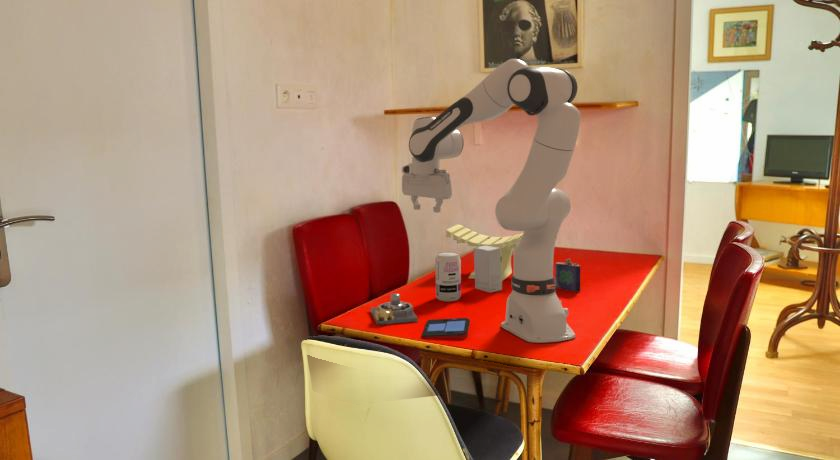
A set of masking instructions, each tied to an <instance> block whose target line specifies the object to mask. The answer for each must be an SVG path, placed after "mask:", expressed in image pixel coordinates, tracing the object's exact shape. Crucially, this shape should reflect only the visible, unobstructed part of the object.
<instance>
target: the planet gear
mask: <svg viewBox="0 0 840 460" xmlns="http://www.w3.org/2000/svg"><path fill="white" fill-rule="evenodd" d="M389 302H390V303H389ZM403 302H404V301H403V300H401V294H400V293H397V292H396V293H391V294H390V301H387V302H384V303H385V305H384V309H386V310H389V309H391V310H392V311H396V310H404V309H407V303H408V302H407V303H403Z"/></svg>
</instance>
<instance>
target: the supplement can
mask: <svg viewBox="0 0 840 460" xmlns="http://www.w3.org/2000/svg"><path fill="white" fill-rule="evenodd" d="M434 261H435V263H434V265H435V271H434V272H435V297H436V299H437V300H439V301H440V302H441V301H442V302H455V301H458V300H459V299H461V296H462V287H461V286H462V284H461V283H462V281H461V280H462V276H461V275H462V272H461V271H462V269H461V267H462V266H461V265H462V263H461V257H460V255H459V252H456V251H454V252H453V251H442V252H437V254H436V256H435V259H434Z"/></svg>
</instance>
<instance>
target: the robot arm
mask: <svg viewBox="0 0 840 460" xmlns="http://www.w3.org/2000/svg"><path fill="white" fill-rule="evenodd" d="M577 94H578V82H577V79H576V78H575V76H574V75H573V74H572V73H571V72H569V71H568V70H565V69H562V68H553V67H549V66H529V65H528V64H527V63H526V62H525V61H523V60H521V59H518V58H510V59H508V60H506V61H504V62H503V63H501V64H500V65H498V66H496V68H495V69H493V70H492V71H491V72H490V73H489V74H488V75H486V77H485V78H483V80H481V82H479V83H478V84H477V85H476V86H475V87H474V88H473V89H472V90H470V91H469V92H467V93H466V94H465V95H464V96H462V97H460V98H459V99H458V100H456V101H455V102H454V103H452V104H451V105H450V106H448V107H447V108H446V109H445V110H443V111H442V112H441V113H440V114H438V116H437V117H435V116H425V117H419V118H417V119H415V120H414V122H413V125H412V129H411V135H410V137H409V140H408V150H409V152H410V154H411V156H412V158H411V159H412V160H411V162H410V163H408V164H406V165H404V166H402V167H401V173H402V176H401V190H402V194H403V195H405V196H410V200H411V202H412V205H413V210H416V211H417V210H419V211H420V210H421V204H420V203H419V200H418V199H419V197H421V198H429V199H435V200H434V201H435V203H436V204H435V206H433V208H432V209H433V210H432V211H433V212H434V213H441V207H442V205H443V203H444V200H448V199H451V198H452V197H453V189H452V182H451V178H450V177H451V175H450V173H449V172H448V171H447V169H445V168H444V169H441V166H440V165H441V163H440V162H441V160H448V159H455V158H457V157H459V156H460V155H461V154H462V152H463V148H464V143H465V142H464V141H465V140H464V138H463V135H462V133H461V132H460V131H459V129H460V128H461V127H464V126H465V125H469V124H474V123H480V122H487V121H491V120H495V119H497V118H498V117H500V116H502V115H504V114H506V112H508V111H509V110H510V109H511V108H512V107H513V106H516V107H517V108H519V109H521V110H523V111H524V112H525V114H527V115H528V116H536V118H537V125H536V130H535V132H534V136H533V139H532V143H531V146H530V149H529V152H528V156H527V158H526V162H525V163H524V167H523V169H522V170H521V171H520V173H519V175H518V177H517V178H516V180H515V181H514V183H513V184H512V186H511V187H510V189H509V190H508V191H507V192H506V193H504V194H503V196H501V198H500V199H498V201H497V202H496V205H495V209H494V211H495V212H494V213H495V219H496V221H497V222H498V223H497V224H499V226H500V227H501V228H502V229H504V230H506V231H512V232H522V233H523V235H522V237H521V239H520V241H519V242H518V244H517V245H516V246H515V248H514V251H513V254H512V256H513V257H512V259H513V270H512V273H513V275H511V276H512V277H511V281H510V282H511V289H512V291H511V293H510V294H509V295H508V297H506V298H507V299H506V305H505V306H506V307H505V320H504V321H502V322H501V324H500V327H501V328H502V329H504V330H506V331H507V332H510V333H511V334H513V335H515V336H517V337H518V338H520V339H522V340H524V341H526V342H529V343H555V342H562V341H567V340H569V341H570V340H572V339H574V338H576V333H575V332H574V330H573V329H572V328H571V327H570V325H569V324H568V323H567V317H569V309H568V308H567V307H563V305H562V304H563V302H562V300H560V298H559V297H558V295H557V293H556V291H557V288H556V287H555V285H556V284H555V276H554V254H555V253H554V252H555V246H556V242H557V239H558V235H559V232H560V229H561V227H562V224H563V223H564V221H565V220H566V219H567V217H568V216H569V215H570V211H571V200H570V197H569V196H568V194H567V193H566V192H565V191H564V190H562V189H560V188H556V187H557V185H558V184H559V183H560V182H561V181H563V180H564V178H565V177H566V175H567V172H568V170H569V167H570V163H571V160H572V156H573V153H574V151H575V148H576V144H577V140H578V136H579V132H580V125H581V112H580V110H579V109H578V108H577V106H576V105H574V104H572V102H573V101H574V100H575V98H576V96H577Z"/></svg>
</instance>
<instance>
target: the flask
mask: <svg viewBox="0 0 840 460" xmlns="http://www.w3.org/2000/svg"><path fill="white" fill-rule="evenodd" d="M554 267H555V269H554V270H555V271H554V280H555V284H556V285H555V287H556V290H557V289H558V290H563V291H569V292H575V293H577V292H578V293H580V292H581V265H580V264H577V263H576V262H575V263H573V262H572V261H571V258H567V259H565V262H556V263H555V264H554Z"/></svg>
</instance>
